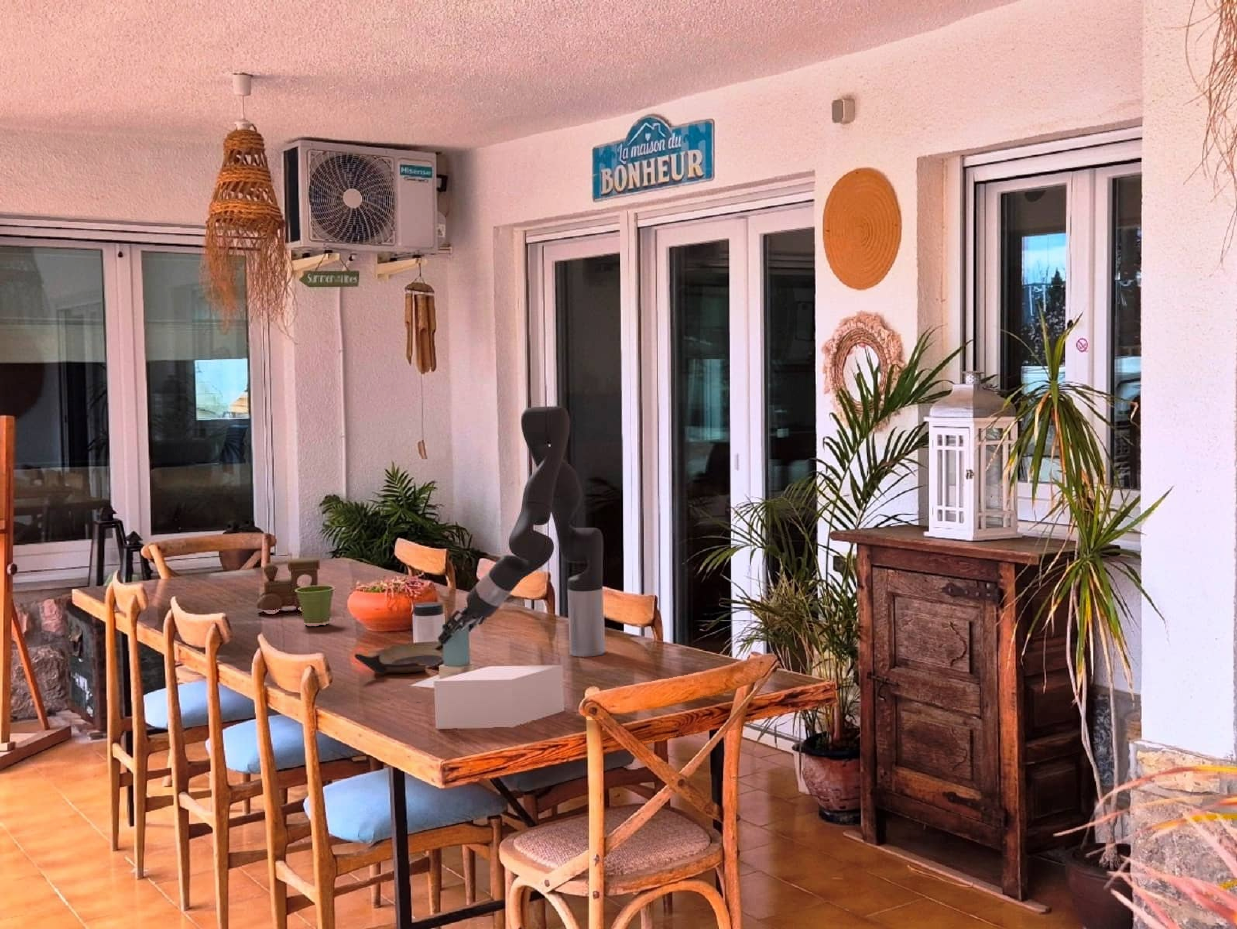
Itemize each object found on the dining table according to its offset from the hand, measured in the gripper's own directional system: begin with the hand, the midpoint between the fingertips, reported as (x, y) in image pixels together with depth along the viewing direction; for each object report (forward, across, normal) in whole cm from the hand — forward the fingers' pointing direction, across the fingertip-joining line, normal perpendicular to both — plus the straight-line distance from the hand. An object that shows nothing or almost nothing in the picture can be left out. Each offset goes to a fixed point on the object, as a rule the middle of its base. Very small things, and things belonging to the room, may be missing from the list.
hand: (450, 638), depth 314 cm
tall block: (+3, 0, +5) cm, 6 cm away
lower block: (+6, 0, +8) cm, 10 cm away
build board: (+7, 0, +9) cm, 11 cm away
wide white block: (-12, +24, +28) cm, 39 cm away
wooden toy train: (+85, -69, -69) cm, 129 cm away
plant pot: (+67, -52, -51) cm, 99 cm away
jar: (+30, -35, -14) cm, 48 cm away
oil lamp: (+22, -8, -6) cm, 24 cm away
